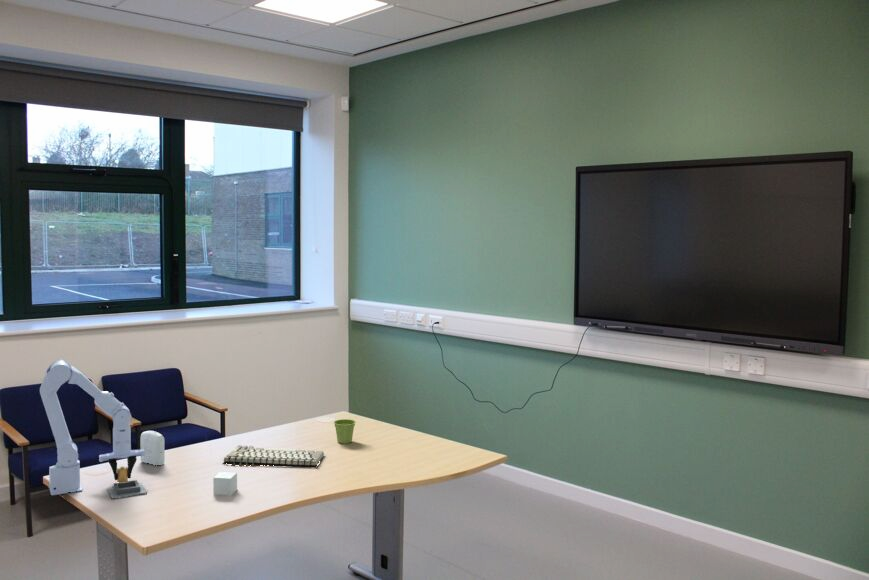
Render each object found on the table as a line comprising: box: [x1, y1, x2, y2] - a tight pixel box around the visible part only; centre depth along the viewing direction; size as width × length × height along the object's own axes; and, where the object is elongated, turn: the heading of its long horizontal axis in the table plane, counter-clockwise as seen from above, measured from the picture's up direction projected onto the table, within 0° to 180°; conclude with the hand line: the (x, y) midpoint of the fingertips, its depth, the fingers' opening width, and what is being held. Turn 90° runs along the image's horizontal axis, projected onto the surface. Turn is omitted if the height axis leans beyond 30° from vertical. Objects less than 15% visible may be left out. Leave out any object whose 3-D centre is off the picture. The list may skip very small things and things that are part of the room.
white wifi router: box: [139, 430, 165, 467], centre depth 276 cm, size 10×4×12 cm, turn 60°
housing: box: [106, 479, 148, 500], centre depth 247 cm, size 11×11×2 cm
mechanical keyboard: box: [221, 445, 325, 468], centre depth 284 cm, size 38×19×3 cm, turn 88°
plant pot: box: [333, 418, 357, 445], centre depth 309 cm, size 9×9×9 cm
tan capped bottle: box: [116, 466, 129, 483], centre depth 255 cm, size 3×3×6 cm
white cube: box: [212, 471, 238, 496], centre depth 248 cm, size 6×6×6 cm
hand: (122, 478), depth 256 cm, fingers open, 4 cm apart
